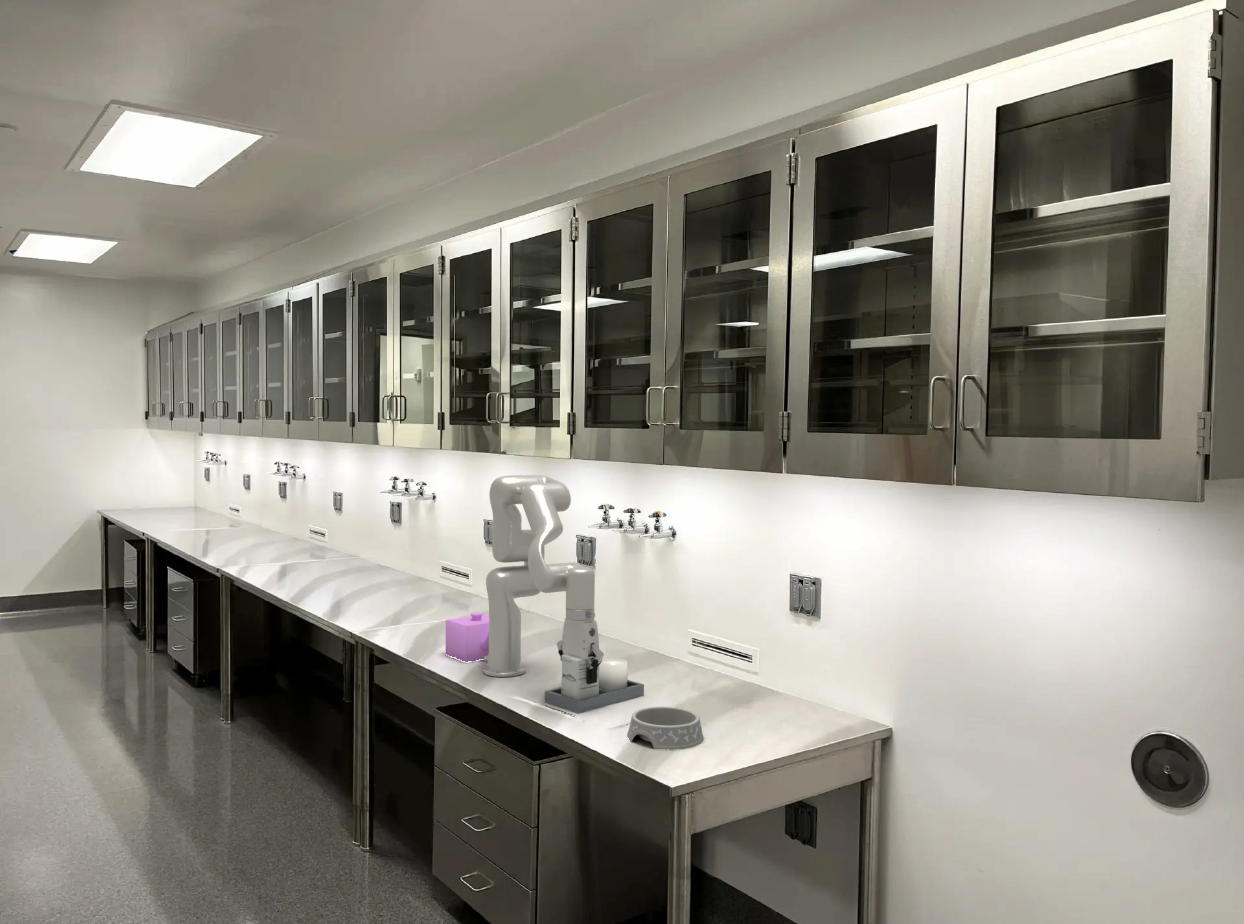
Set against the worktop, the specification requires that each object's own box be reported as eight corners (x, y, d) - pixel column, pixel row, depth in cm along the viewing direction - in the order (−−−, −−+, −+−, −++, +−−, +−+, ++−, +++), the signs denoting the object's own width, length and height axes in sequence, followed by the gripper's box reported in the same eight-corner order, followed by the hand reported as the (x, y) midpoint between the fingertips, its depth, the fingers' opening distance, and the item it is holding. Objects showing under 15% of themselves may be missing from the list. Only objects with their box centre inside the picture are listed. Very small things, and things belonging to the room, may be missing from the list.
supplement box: (560, 702, 239) (560, 654, 238) (583, 697, 243) (583, 650, 243) (576, 709, 233) (577, 660, 232) (599, 704, 237) (600, 656, 237)
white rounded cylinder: (591, 693, 247) (592, 661, 247) (613, 688, 252) (613, 656, 252) (612, 700, 241) (612, 666, 241) (633, 694, 247) (633, 661, 246)
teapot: (477, 668, 276) (478, 622, 276) (438, 652, 296) (438, 610, 295) (519, 661, 286) (519, 616, 286) (478, 646, 305) (478, 604, 305)
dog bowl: (657, 721, 228) (658, 700, 228) (717, 738, 216) (718, 715, 216) (612, 737, 215) (612, 715, 215) (673, 756, 203) (674, 732, 203)
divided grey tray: (544, 706, 238) (544, 691, 238) (610, 689, 255) (610, 674, 255) (577, 717, 229) (577, 701, 229) (643, 699, 246) (644, 684, 246)
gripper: (613, 617, 234) (612, 683, 234) (569, 607, 246) (568, 670, 247) (591, 621, 229) (591, 689, 229) (547, 611, 241) (547, 675, 242)
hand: (579, 679), depth 238 cm, fingers open, 9 cm apart
